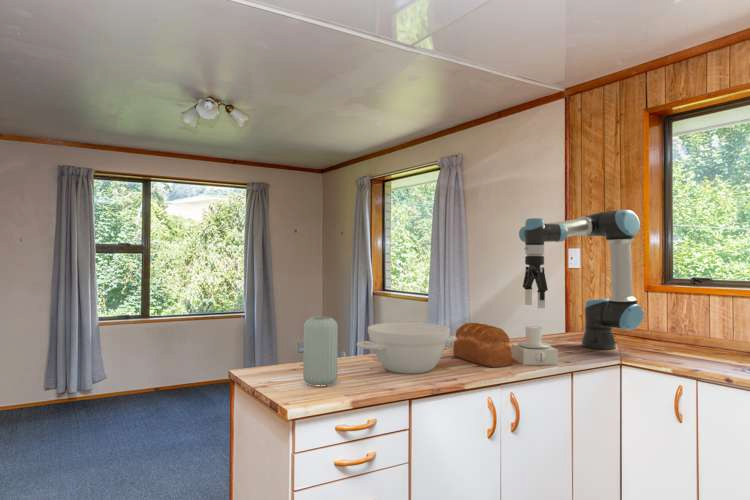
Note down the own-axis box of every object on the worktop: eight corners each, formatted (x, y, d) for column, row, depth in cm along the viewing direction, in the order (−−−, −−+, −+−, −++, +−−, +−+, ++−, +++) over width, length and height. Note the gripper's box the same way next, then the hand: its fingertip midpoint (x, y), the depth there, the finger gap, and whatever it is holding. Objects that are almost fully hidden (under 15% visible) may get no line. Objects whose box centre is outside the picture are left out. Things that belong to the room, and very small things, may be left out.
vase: (296, 386, 164) (297, 319, 164) (313, 378, 175) (313, 315, 175) (328, 389, 160) (328, 321, 160) (342, 381, 170) (343, 316, 171)
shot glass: (525, 342, 210) (526, 325, 210) (543, 343, 207) (543, 326, 207) (524, 344, 203) (524, 327, 203) (542, 346, 201) (542, 328, 201)
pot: (379, 385, 166) (379, 338, 166) (339, 366, 194) (340, 326, 194) (479, 371, 187) (479, 329, 187) (430, 355, 215) (431, 319, 215)
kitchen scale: (511, 357, 212) (511, 341, 212) (543, 357, 213) (543, 341, 213) (524, 365, 197) (524, 347, 197) (558, 364, 198) (558, 347, 198)
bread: (475, 353, 221) (475, 319, 221) (516, 365, 197) (516, 326, 197) (449, 356, 214) (449, 320, 215) (489, 369, 191) (489, 329, 191)
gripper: (515, 255, 218) (515, 303, 218) (537, 255, 193) (537, 309, 193) (531, 255, 218) (531, 303, 218) (556, 255, 194) (556, 309, 193)
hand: (534, 306), depth 206 cm, fingers open, 13 cm apart
